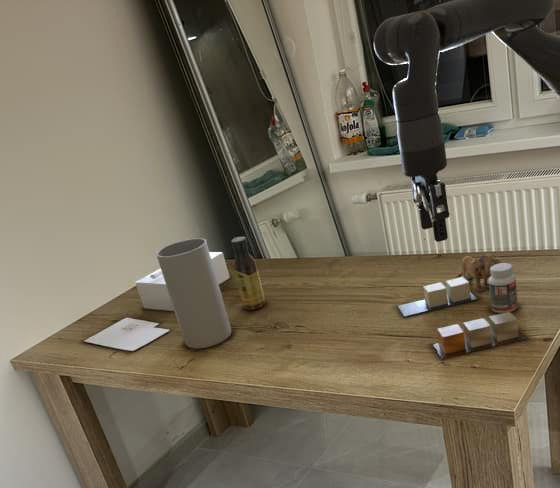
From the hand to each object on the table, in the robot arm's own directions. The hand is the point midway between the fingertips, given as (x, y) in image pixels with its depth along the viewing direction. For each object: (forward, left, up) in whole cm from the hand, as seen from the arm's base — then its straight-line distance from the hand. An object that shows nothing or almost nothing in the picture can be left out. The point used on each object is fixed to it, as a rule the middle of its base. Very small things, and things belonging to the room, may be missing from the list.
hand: (434, 234), depth 123 cm
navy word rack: (-6, -32, -28) cm, 43 cm away
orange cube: (-2, -7, -27) cm, 29 cm away
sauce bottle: (+38, -59, -28) cm, 76 cm away
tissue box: (+59, -85, -28) cm, 107 cm away
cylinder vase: (+51, -44, -28) cm, 73 cm away
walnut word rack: (-8, -7, -28) cm, 30 cm away
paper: (+75, -61, -28) cm, 100 cm away
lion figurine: (-18, -37, -28) cm, 50 cm away
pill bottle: (-18, -21, -28) cm, 39 cm away
